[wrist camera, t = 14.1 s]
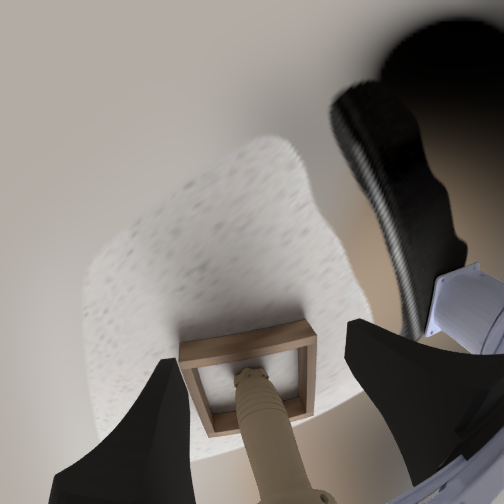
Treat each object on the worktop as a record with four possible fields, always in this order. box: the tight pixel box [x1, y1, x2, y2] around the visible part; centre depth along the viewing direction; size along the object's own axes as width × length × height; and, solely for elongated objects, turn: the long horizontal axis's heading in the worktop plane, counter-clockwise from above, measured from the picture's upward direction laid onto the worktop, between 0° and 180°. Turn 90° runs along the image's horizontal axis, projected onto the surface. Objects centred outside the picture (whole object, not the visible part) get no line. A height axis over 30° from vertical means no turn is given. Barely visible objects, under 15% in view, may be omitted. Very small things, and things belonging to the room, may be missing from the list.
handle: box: [234, 368, 337, 504], centre depth 17 cm, size 5×6×15 cm
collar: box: [179, 319, 317, 438], centre depth 22 cm, size 11×11×3 cm
